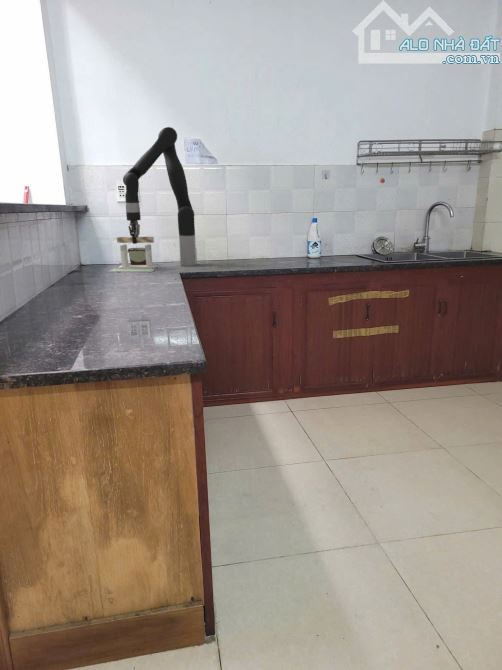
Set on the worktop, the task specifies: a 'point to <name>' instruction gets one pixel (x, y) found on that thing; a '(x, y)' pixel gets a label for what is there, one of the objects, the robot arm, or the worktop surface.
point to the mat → (132, 270)
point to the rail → (139, 239)
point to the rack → (125, 265)
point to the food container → (137, 256)
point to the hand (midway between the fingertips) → (135, 243)
